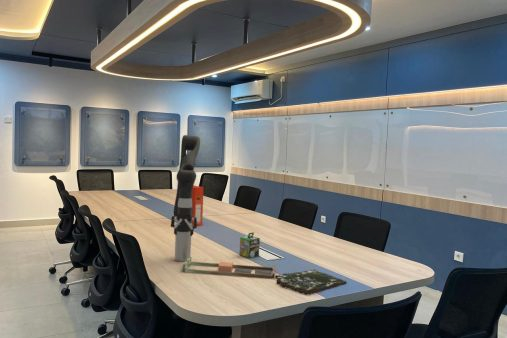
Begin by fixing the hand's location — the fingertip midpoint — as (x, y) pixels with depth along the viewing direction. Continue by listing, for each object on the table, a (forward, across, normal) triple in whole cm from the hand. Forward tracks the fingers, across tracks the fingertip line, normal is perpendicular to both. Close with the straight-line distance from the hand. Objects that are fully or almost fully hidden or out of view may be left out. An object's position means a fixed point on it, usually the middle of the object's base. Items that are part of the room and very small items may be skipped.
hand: (183, 235), depth 220 cm
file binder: (+13, +21, -115) cm, 118 cm away
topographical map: (+19, -68, +9) cm, 71 cm away
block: (+18, -24, +1) cm, 30 cm away
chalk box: (+16, -34, -32) cm, 50 cm away
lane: (+18, -27, +1) cm, 32 cm away
